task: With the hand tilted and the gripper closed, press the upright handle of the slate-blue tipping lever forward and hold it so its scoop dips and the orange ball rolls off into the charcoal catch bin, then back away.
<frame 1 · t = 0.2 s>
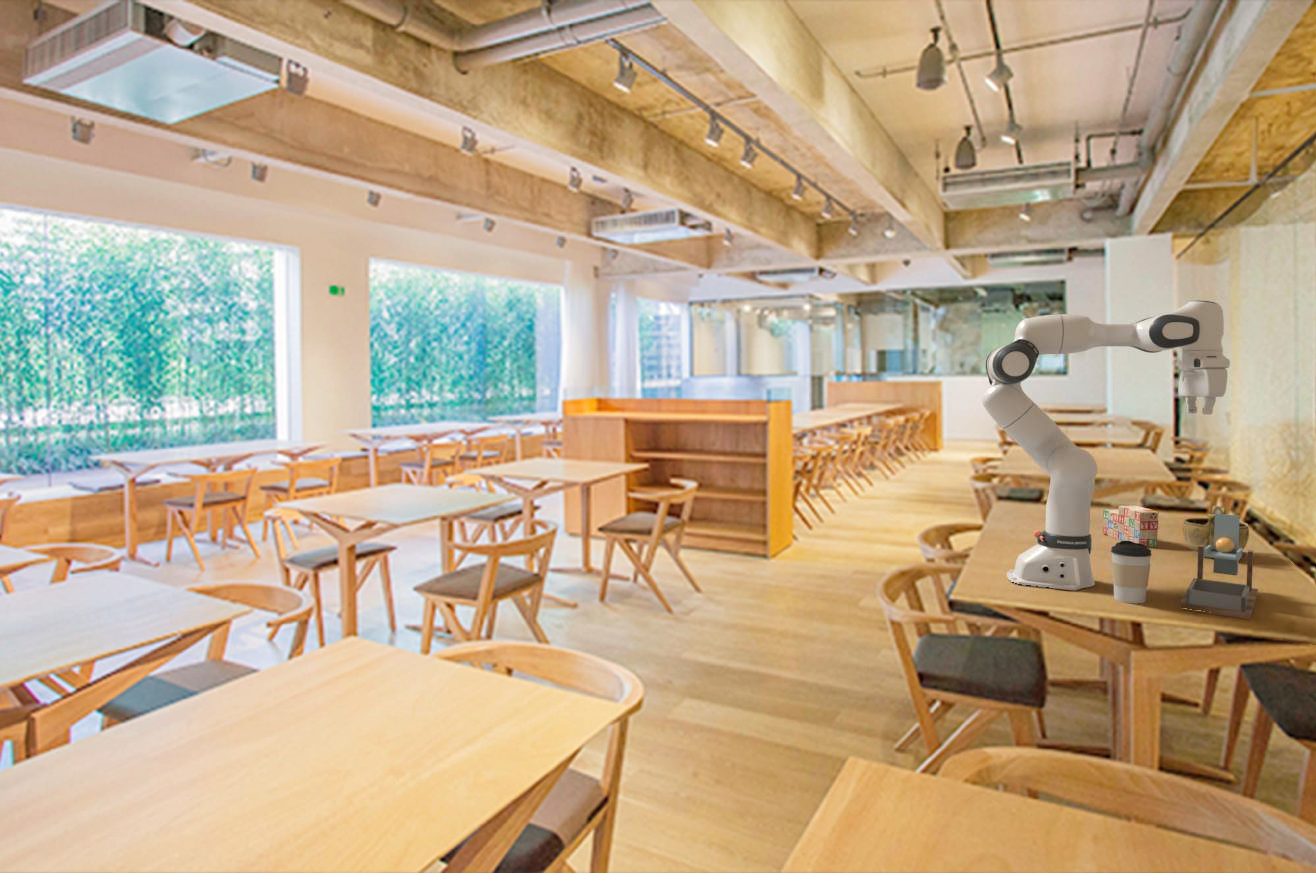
hand: (1199, 413, 205), 48 cm above the table, tool pointing down, fingers open, 8 cm apart
walnut lever base: (1221, 597, 200), on the table
catch bin: (1217, 606, 192), resting on walnut lever base
orange ball: (1224, 545, 202), point 13 cm above the table, tilted 15°, touching tipping lever
tipping lever: (1224, 545, 201), point 13 cm above the table, hinge at -6.0°, touching orange ball
ceramic bowl: (1214, 556, 244), on the table
coffee cup: (1129, 600, 200), on the table
stack of blocks: (1128, 541, 267), on the table
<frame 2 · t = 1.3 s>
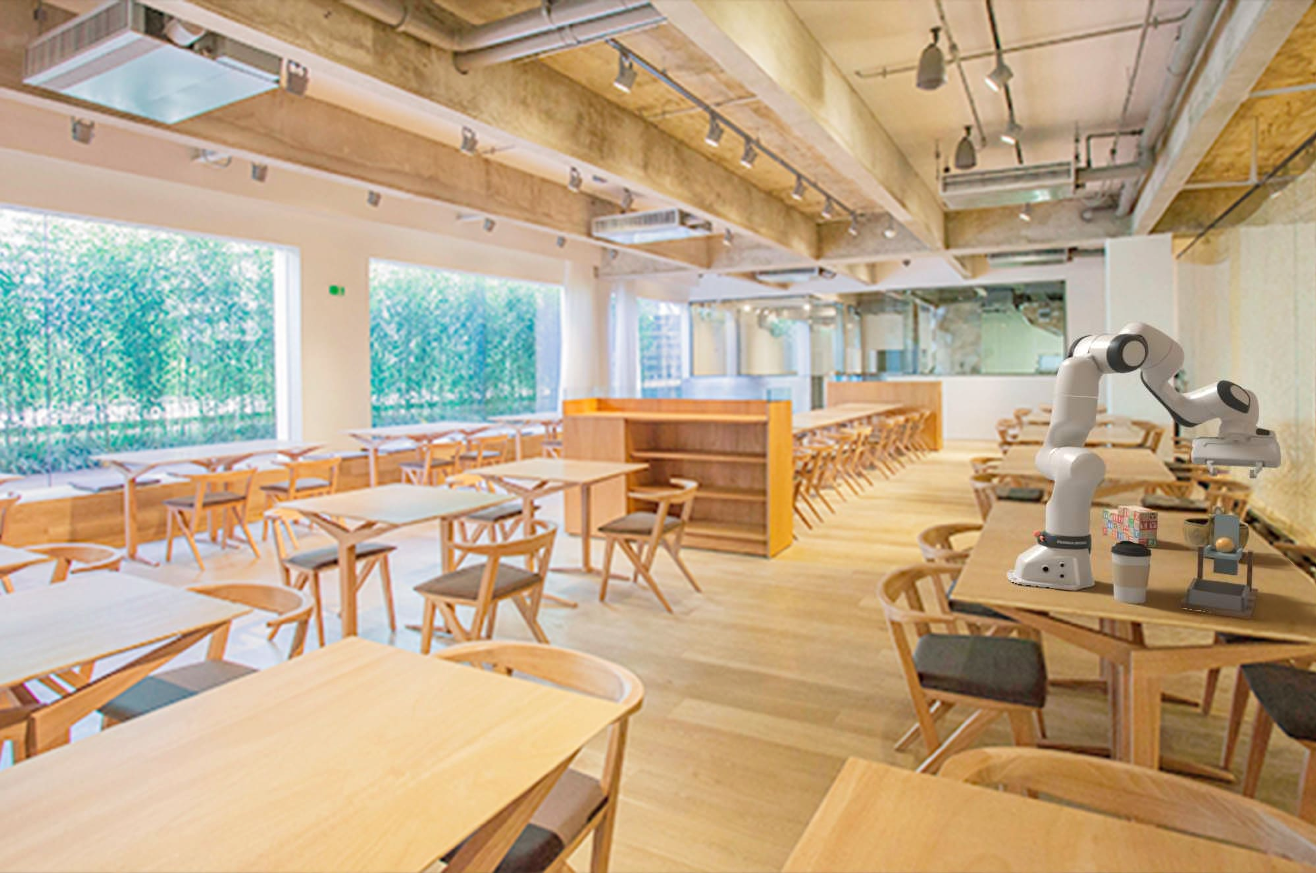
hand: (1232, 476, 212), 30 cm above the table, tool tilted 45°, fingers open, 7 cm apart
nothing on the table moved.
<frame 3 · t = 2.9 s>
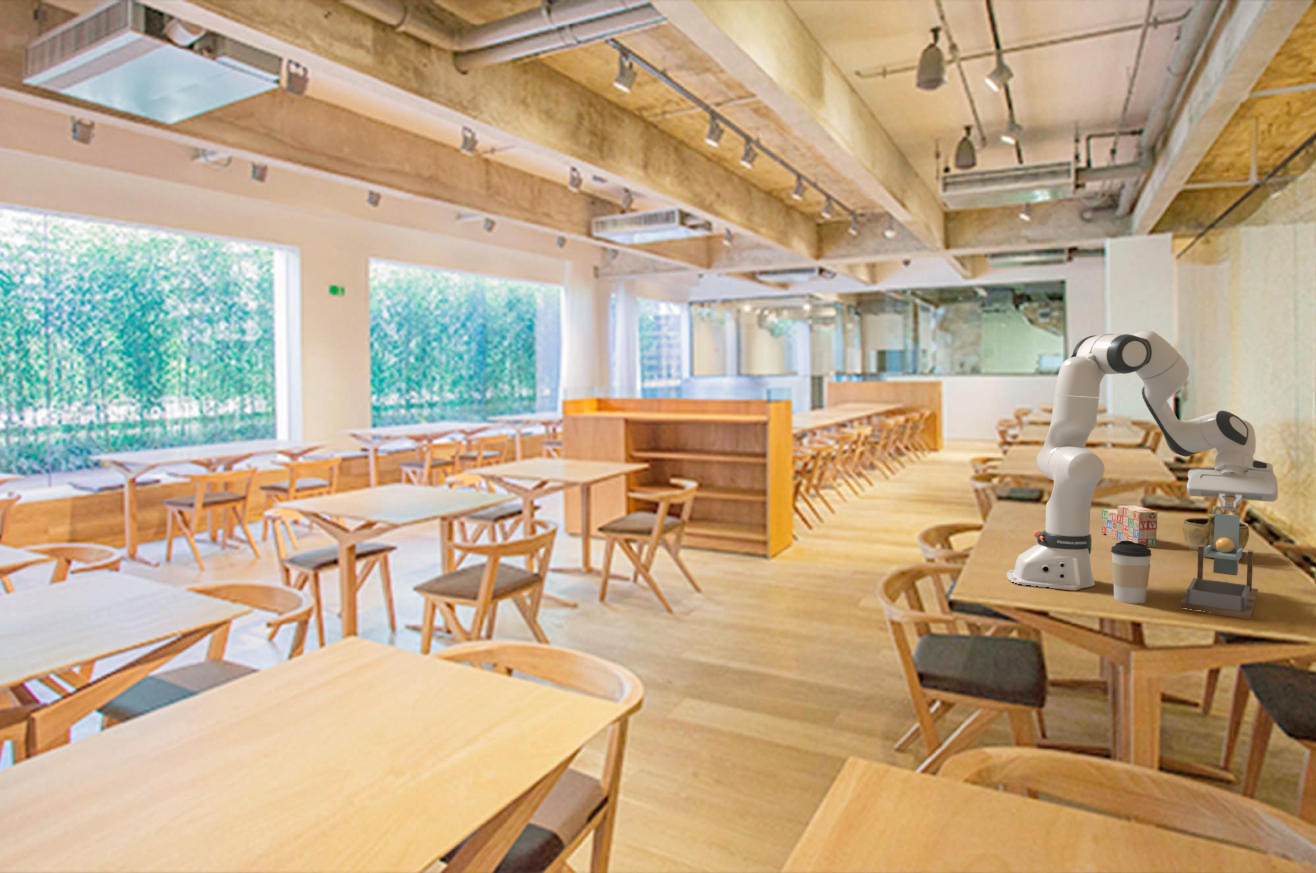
hand: (1229, 509, 208), 21 cm above the table, tool tilted 45°, fingers closed
nothing on the table moved.
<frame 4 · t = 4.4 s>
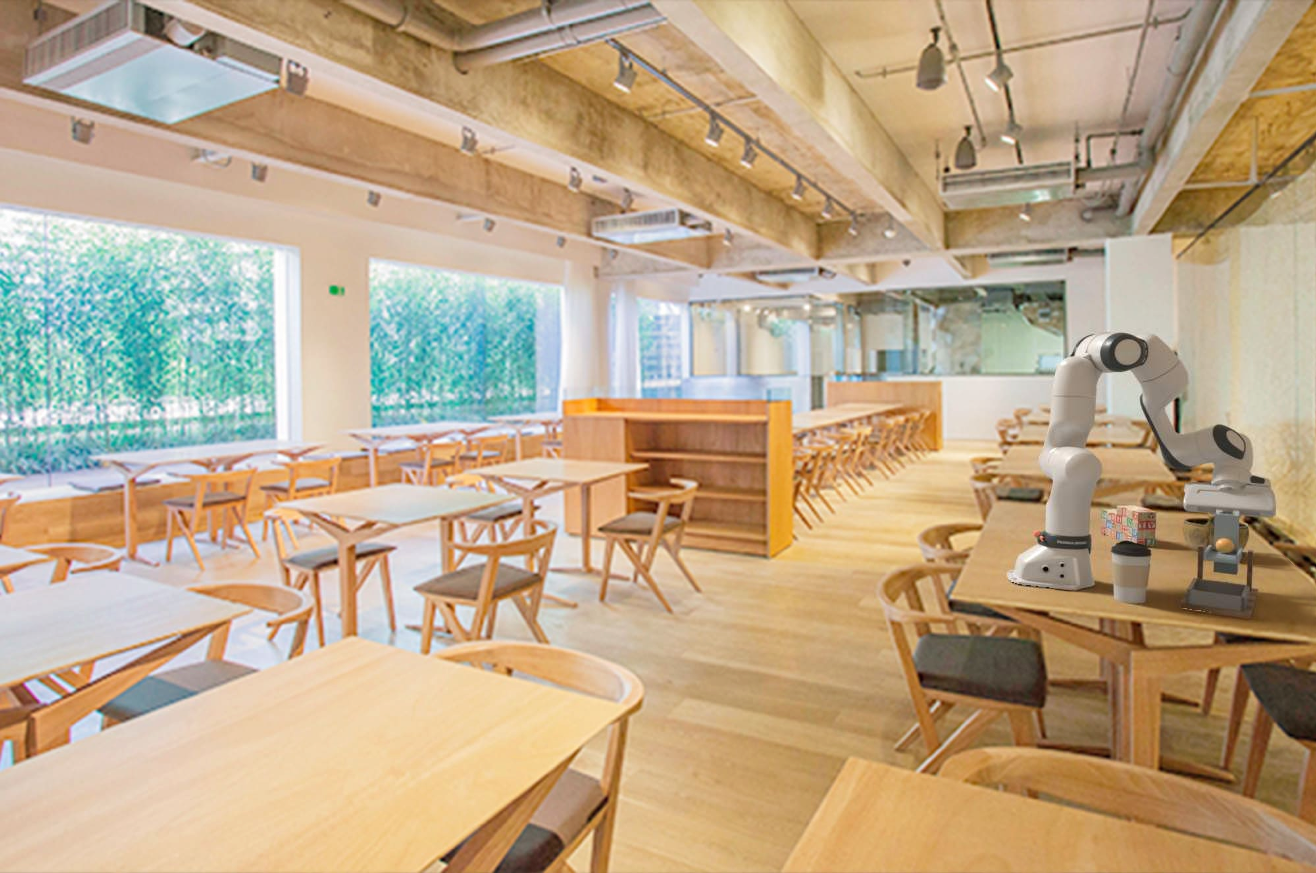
hand: (1226, 525, 204), 18 cm above the table, tool tilted 45°, fingers closed, pressing on tipping lever
tipping lever: (1224, 546, 201), point 13 cm above the table, hinge at -1.4°, touching gripper, orange ball
everything else where it was.
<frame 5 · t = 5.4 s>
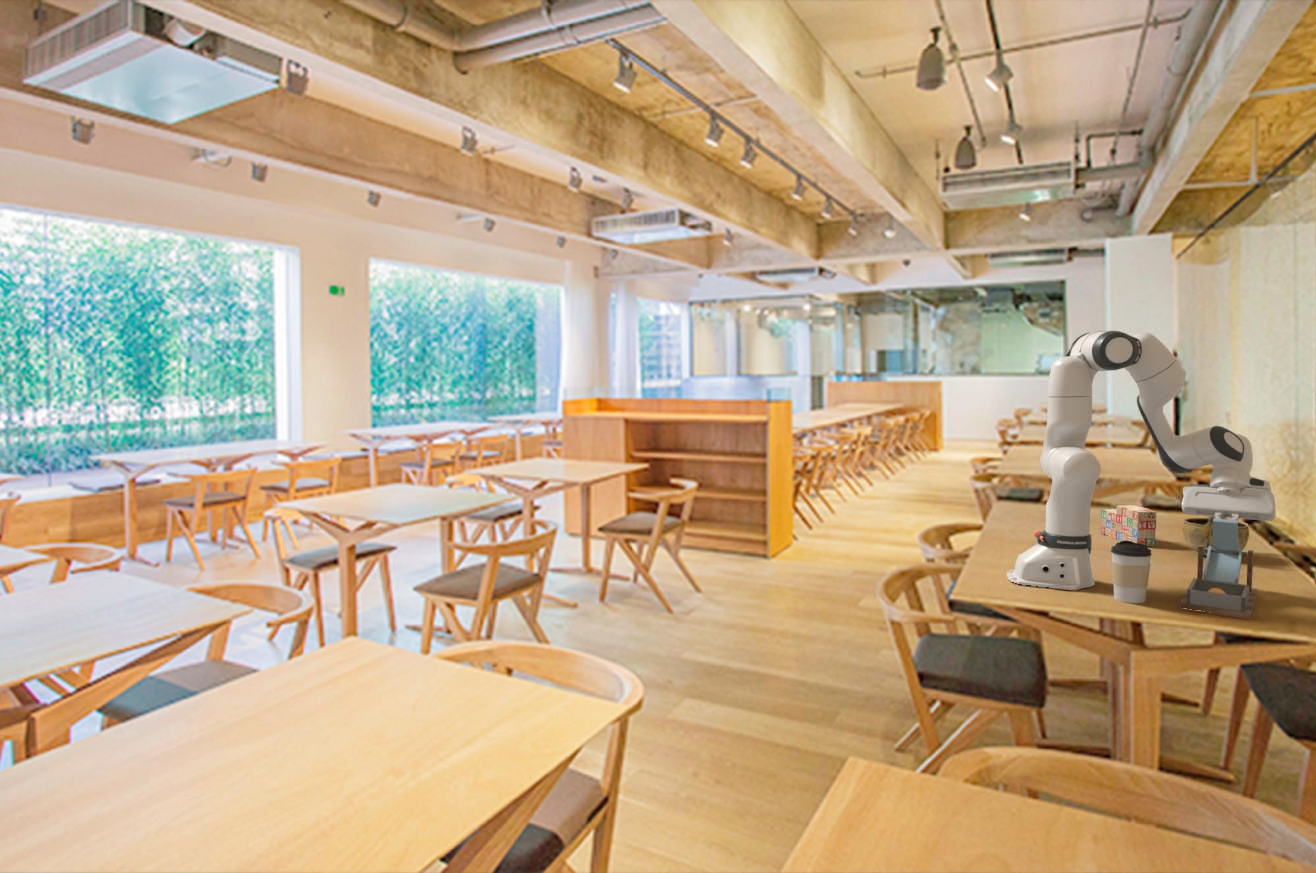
hand: (1225, 528, 201), 18 cm above the table, tool tilted 45°, fingers closed, pressing on tipping lever
orange ball: (1216, 596, 189), point 4 cm above the table, tilted 151°, touching catch bin
tipping lever: (1224, 552, 201), point 12 cm above the table, hinge at 27.5°, touching gripper
everything else where it was.
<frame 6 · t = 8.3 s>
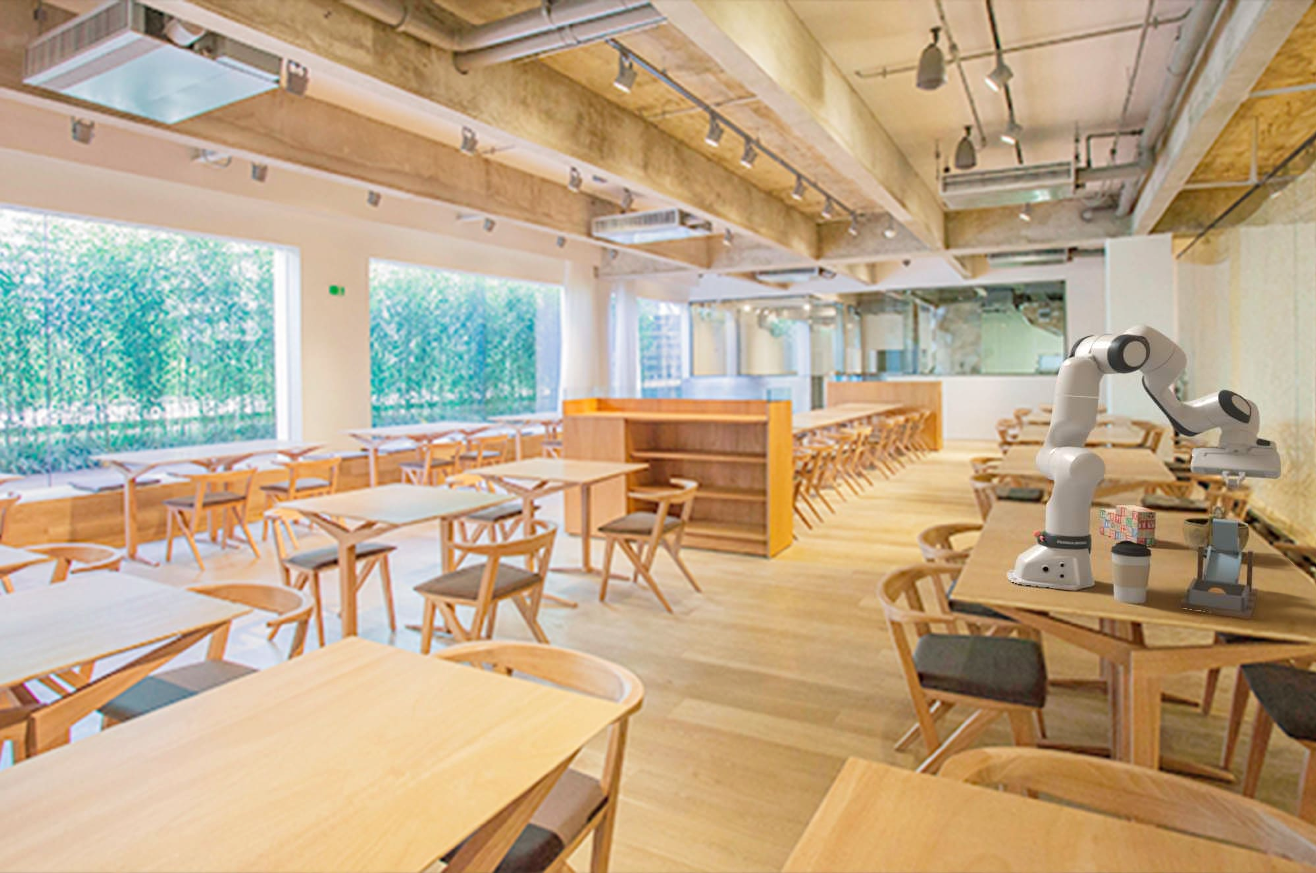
hand: (1232, 486, 210), 27 cm above the table, tool tilted 45°, fingers closed
orange ball: (1216, 595, 189), point 4 cm above the table, tilted 160°, touching catch bin
tipping lever: (1224, 552, 201), point 11 cm above the table, hinge at 27.7°
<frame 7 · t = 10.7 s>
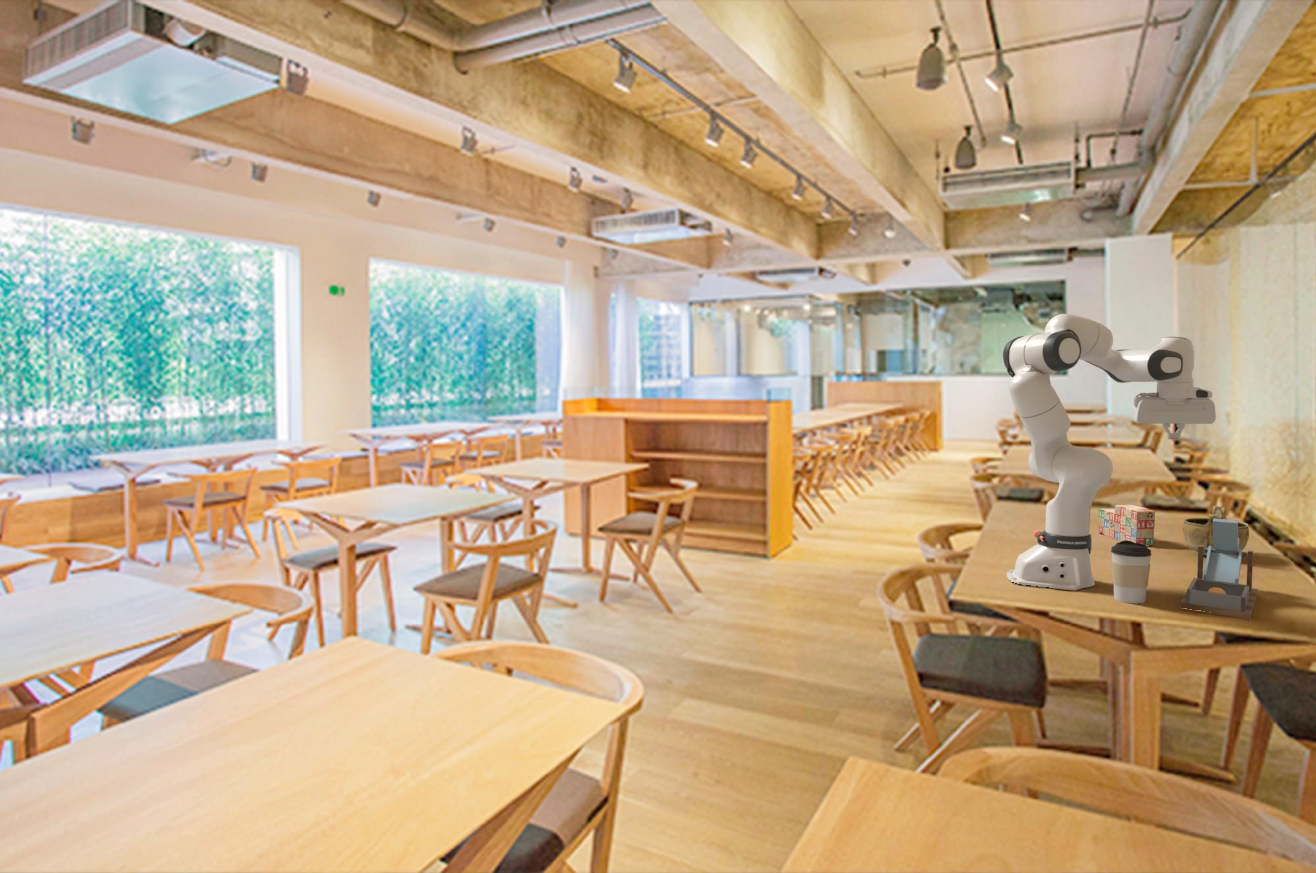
hand: (1172, 439, 226), 39 cm above the table, tool pointing down, fingers closed
orange ball: (1216, 595, 189), point 4 cm above the table, tilted 170°, touching catch bin
at the end: orange ball 3.2 cm from the catch bin (horizontally); orange ball point 3.7 cm above the table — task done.
